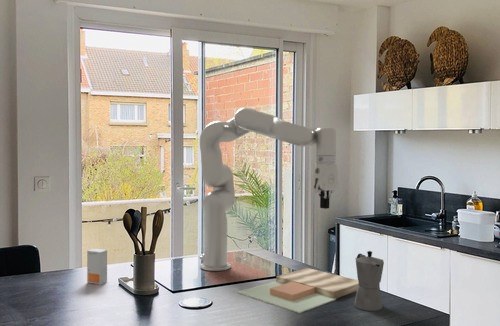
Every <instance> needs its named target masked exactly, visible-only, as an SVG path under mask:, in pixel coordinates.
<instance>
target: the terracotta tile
mask: <svg viewBox="0 0 500 326" xmlns="http://www.w3.org/2000/svg"><path fill="white" fill-rule="evenodd" d="M314 293H315V287H311V286H307V285H304V284H300V283H296V282H289V283H286V284H283V285H279V286H276V287H273V288H270V294H271V295H274V296H278V297H281V298H284V299H288V300H291V301H294V300H296V299H299V298H302V297H305V296H308V295H311V294H314Z"/></svg>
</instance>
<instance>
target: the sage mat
mask: <svg viewBox="0 0 500 326" xmlns="http://www.w3.org/2000/svg"><path fill="white" fill-rule="evenodd" d="M279 285H283V284H282V283H278V282H276V280H275V281H271V282H268V283H267V282H266V283H263V284H259V285H256V286H252V287H250V288H245V289H243V290H238V291H236V293H237V294H239V295H243V296H245V297H248V298H251V299H254V300H256V301H261V302H264V303H267V304H270V305H272V306H275V307H279V308H281V309H285V310H287V311H291V312H294V313H298V314H301V313H304V312H307V311H310V310H313V309H315V308H318V307H321V306H323V305H326V304H329V303H332V302H335V301H337V298H336V299H335V298H331V297H328V296H324V295H321V294H317V293H314V294H311V295H308V296H305V297H302V298H299V299H296V300H294V301H291V300H288V299H284V298H281V297H278V296H274V295H271V294H270V288H273V287H276V286H279Z"/></svg>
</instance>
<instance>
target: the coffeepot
mask: <svg viewBox="0 0 500 326" xmlns="http://www.w3.org/2000/svg"><path fill="white" fill-rule="evenodd" d="M366 254H367V255H365V254H363V253H357V256H356V257H355V268H356V274H357V275H356V276H357V280H358V288H357V291H356V294H355V298H354V307H355V308H356V309H358V310H361V311H367V312H375V311H381V310H382V309H383V300H382V295H381V287H380V285H381V284H380V283H381V281H382V277H383V271H384V265H385V263H384V259H381V258H378V257H373V256H372V255H373V251H371V250H368V251H366Z"/></svg>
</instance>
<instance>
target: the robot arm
mask: <svg viewBox="0 0 500 326" xmlns="http://www.w3.org/2000/svg"><path fill="white" fill-rule="evenodd" d="M251 132H252V133H256V134H259V135H262V136H265V137H269V138H271V139H275V140H278V141H281V142H283V143H284V142H285V143H287V144H291V145H293V146H298V147H313V146H315V164H314V169H313V182H312V184H313V189H314V193H315V194H317V195H318V198H319V208H320V209H324V210H327V209H330V199H331V197H332V193H334V192H335V190H337V189H338V188H339V173H338V166H337V163H336V162H337V161H336V159H337V156H336V155H337V154H336V153H337V130H336V128H334V127H327V126H325V127H311V126H302V125H299V124H297V123H296V124H295V123H293V122H289V121H286V120H282V119H281V118H280V117H278V116H277V115H272V114H269V113H266V112H262V111H258V110H256V109H254V108H247V107H241V108H239V109H238V110H237V111H236V112H235V114H234V117H233V118H231V119H229V120H227V121H225V120H224V121H223V120H216V121H211V122H210V123H208V124H207V125H206V126H205V127H204V128H203V130H202V131H201V133H200V136H199V149H200V157H201V158H200V159H201V160H200V162H201V172H202V173H201V174H202V180H203V183H204V184H205V186H207V187H209V188H212V191H209V192H208V193H206V194H205V196H204V197H203V199H202V205H201V207H202V214H203V254H201V255H200V256H199V260H202V262H201V263H200V265H199V267H200V269H201V270H204V271H209V272H210V271H211V272H221V271H226V270H229V269H231V268H232V264H231V263H230V262H228V219H227V213H226V212H228V211H230V210H231V209H232V208H233V207H234V205H235V201H236V196H235V185H234V174H233V172H232V169H231V168H230V167H229V166H228V164H226V163H224V161H223V154H222V149H221V146H220V144H221V143H230V142H233V141H235V140H237V139H239V138H241V137H243V136H245V135H247V134H249V133H251Z"/></svg>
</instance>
